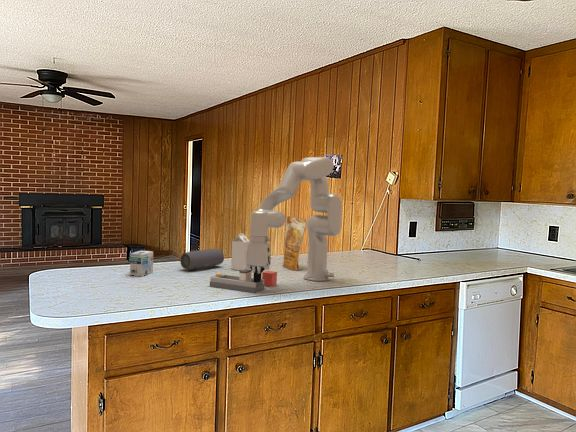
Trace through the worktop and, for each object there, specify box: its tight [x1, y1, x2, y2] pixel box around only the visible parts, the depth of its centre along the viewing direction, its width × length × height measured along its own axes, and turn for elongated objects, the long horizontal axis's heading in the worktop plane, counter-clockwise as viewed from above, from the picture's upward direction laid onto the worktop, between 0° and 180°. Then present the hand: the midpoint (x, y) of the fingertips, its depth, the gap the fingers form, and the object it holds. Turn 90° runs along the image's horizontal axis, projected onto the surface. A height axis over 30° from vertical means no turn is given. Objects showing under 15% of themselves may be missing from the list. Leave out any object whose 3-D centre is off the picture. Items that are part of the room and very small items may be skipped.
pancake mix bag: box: [282, 216, 308, 271], centre depth 250 cm, size 7×19×28 cm, turn 26°
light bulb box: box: [129, 250, 154, 277], centre depth 220 cm, size 11×7×11 cm, turn 168°
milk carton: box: [230, 232, 250, 271], centre depth 242 cm, size 7×7×19 cm
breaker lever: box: [238, 268, 253, 282], centre depth 199 cm, size 3×6×6 cm, turn 157°
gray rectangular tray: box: [209, 272, 266, 294], centre depth 201 cm, size 22×10×5 cm, turn 67°
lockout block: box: [261, 270, 278, 287], centre depth 208 cm, size 5×5×6 cm
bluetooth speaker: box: [179, 248, 225, 271], centre depth 239 cm, size 23×9×10 cm, turn 141°
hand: (257, 281), depth 197 cm, fingers closed
